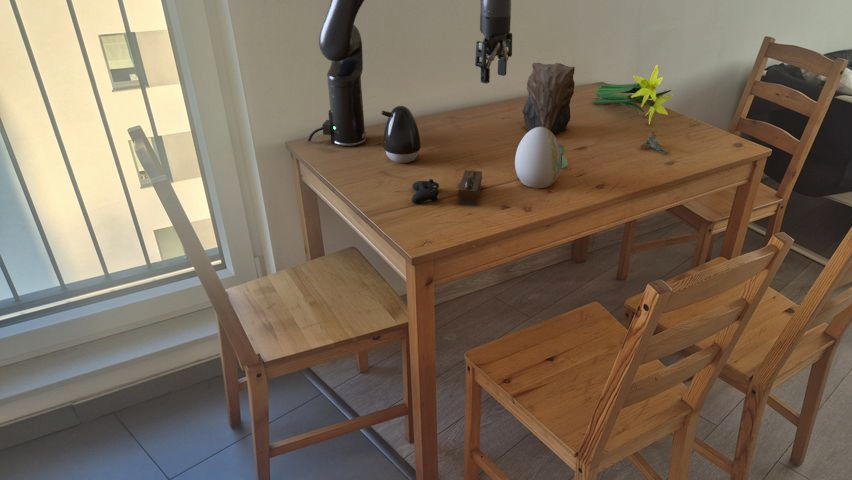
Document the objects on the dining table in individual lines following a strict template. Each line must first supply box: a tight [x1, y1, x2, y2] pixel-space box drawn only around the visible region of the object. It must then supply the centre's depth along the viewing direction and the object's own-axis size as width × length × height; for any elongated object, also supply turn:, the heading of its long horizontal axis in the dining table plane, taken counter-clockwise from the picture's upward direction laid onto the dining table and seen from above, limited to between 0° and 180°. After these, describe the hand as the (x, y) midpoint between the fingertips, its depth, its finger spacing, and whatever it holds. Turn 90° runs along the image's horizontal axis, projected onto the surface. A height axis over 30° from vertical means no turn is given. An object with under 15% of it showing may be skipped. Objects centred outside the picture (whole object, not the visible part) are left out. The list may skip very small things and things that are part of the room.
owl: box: [522, 62, 576, 137], centre depth 209 cm, size 13×13×20 cm
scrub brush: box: [458, 169, 483, 206], centre depth 170 cm, size 12×4×5 cm, turn 175°
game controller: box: [411, 178, 440, 204], centre depth 169 cm, size 10×5×6 cm
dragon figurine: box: [639, 129, 667, 155], centre depth 202 cm, size 6×7×8 cm
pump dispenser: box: [380, 105, 422, 164], centre depth 185 cm, size 10×10×15 cm
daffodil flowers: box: [592, 64, 674, 125], centre depth 225 cm, size 17×15×35 cm
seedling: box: [558, 142, 569, 169], centre depth 191 cm, size 7×8×7 cm
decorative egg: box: [514, 127, 562, 189], centre depth 176 cm, size 12×12×15 cm
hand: (493, 78), depth 174 cm, fingers open, 8 cm apart
